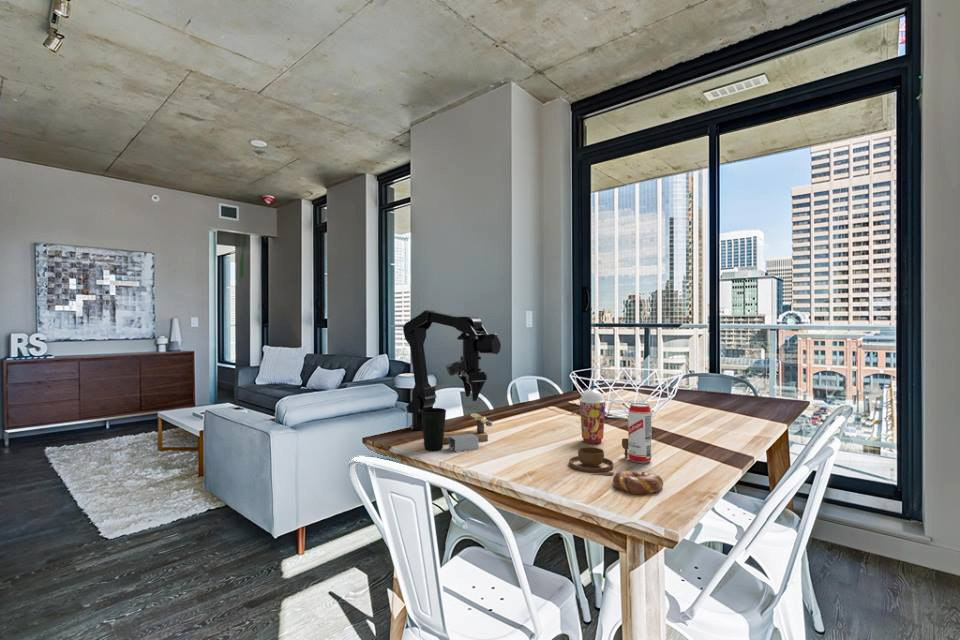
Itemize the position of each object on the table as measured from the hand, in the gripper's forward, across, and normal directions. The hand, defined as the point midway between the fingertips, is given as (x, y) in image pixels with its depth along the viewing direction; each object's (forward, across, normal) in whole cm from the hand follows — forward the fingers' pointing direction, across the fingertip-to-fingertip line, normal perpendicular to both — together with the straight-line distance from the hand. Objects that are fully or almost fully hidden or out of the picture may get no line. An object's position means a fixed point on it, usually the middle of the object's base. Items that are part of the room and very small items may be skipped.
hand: (470, 398), depth 163 cm
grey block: (+13, +14, -6) cm, 20 cm away
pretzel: (+14, +58, +26) cm, 65 cm away
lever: (+7, +4, +3) cm, 9 cm away
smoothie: (+13, +17, +37) cm, 43 cm away
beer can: (+13, +40, +39) cm, 57 cm away
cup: (+13, +12, -15) cm, 23 cm away
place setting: (+14, +41, +28) cm, 51 cm away
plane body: (+13, +4, -4) cm, 14 cm away
